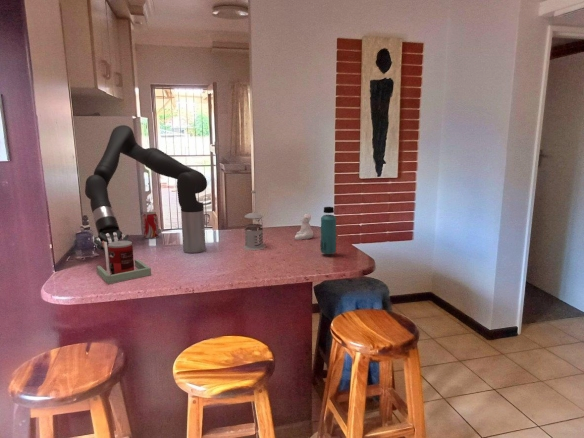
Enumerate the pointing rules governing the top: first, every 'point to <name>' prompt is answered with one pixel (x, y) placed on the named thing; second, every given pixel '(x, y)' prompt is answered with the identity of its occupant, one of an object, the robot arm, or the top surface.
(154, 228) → the soda can
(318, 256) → the top surface
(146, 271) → the holder tray
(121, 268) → the canned food
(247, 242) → the french press
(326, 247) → the beverage bottle
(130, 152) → the robot arm
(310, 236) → the white figurine
